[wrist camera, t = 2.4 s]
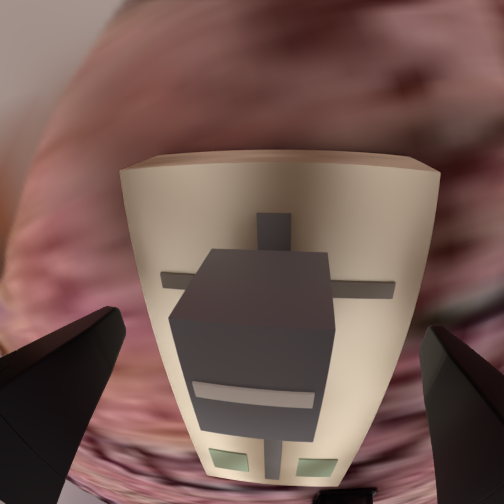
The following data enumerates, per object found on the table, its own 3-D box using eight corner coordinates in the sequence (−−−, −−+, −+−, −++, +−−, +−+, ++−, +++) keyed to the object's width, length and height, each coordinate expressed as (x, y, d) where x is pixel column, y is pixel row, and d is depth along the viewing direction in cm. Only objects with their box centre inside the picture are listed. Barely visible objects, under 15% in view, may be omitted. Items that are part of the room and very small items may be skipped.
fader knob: (325, 235, 9) (335, 332, 5) (315, 341, 10) (312, 444, 7) (222, 232, 9) (166, 319, 5) (231, 336, 11) (199, 432, 7)
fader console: (409, 156, 10) (442, 173, 7) (338, 455, 20) (337, 487, 17) (157, 155, 12) (116, 171, 9) (215, 445, 21) (206, 476, 19)
